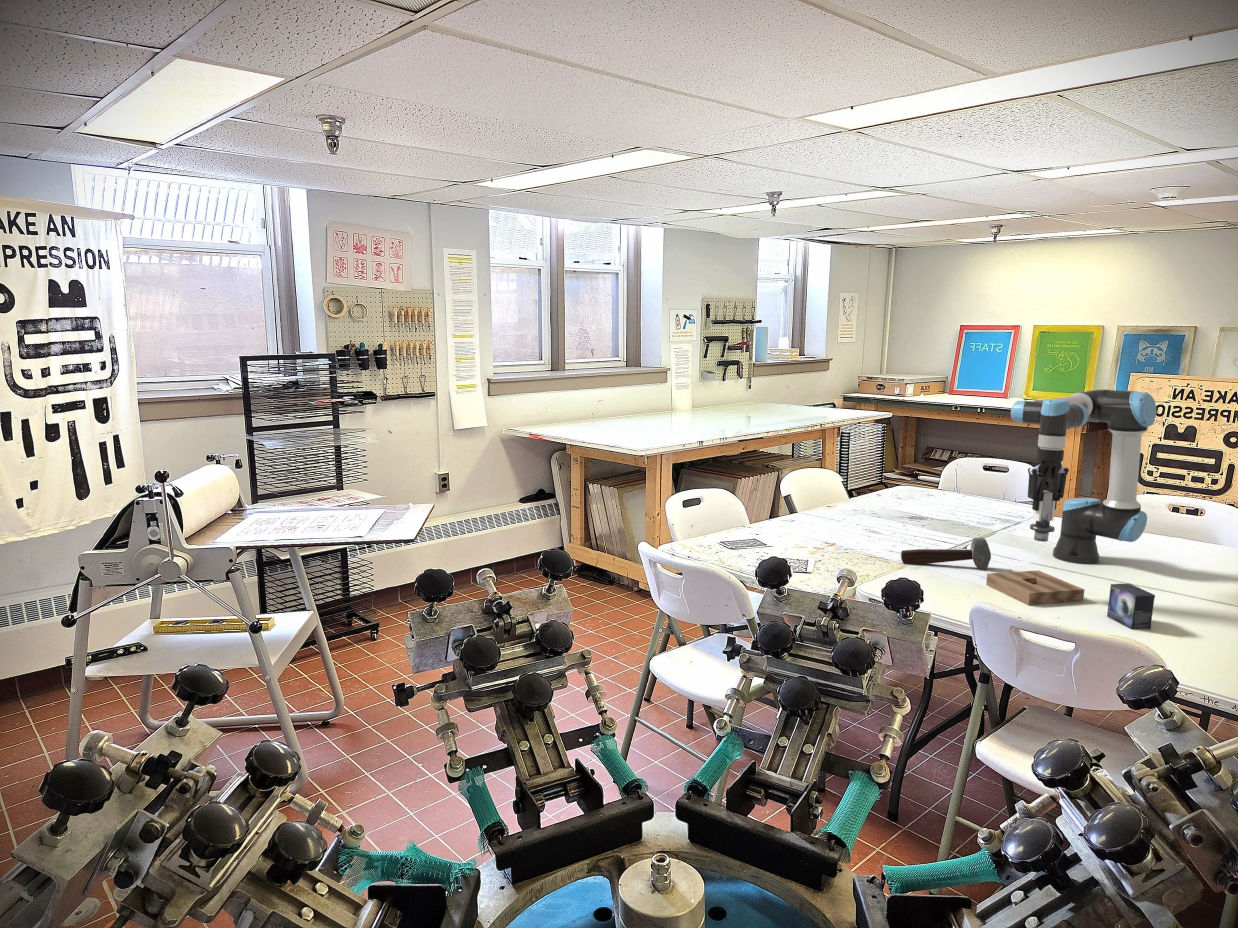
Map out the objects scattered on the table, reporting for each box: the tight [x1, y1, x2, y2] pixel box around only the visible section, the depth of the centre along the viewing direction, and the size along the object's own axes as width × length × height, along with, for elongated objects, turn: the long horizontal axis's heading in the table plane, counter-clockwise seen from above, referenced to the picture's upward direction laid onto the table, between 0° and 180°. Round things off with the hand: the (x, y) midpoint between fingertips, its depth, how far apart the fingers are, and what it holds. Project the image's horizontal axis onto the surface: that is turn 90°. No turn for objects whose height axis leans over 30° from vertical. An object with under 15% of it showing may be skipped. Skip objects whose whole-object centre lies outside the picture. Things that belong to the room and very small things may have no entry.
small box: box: [1106, 582, 1156, 630], centre depth 228 cm, size 11×6×10 cm, turn 5°
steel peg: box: [1029, 489, 1056, 543], centre depth 249 cm, size 7×7×16 cm
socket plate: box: [985, 569, 1085, 606], centre depth 253 cm, size 20×20×4 cm
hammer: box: [900, 537, 992, 571], centre depth 282 cm, size 5×11×30 cm
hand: (1042, 519), depth 249 cm, fingers closed on steel peg, 4 cm apart
